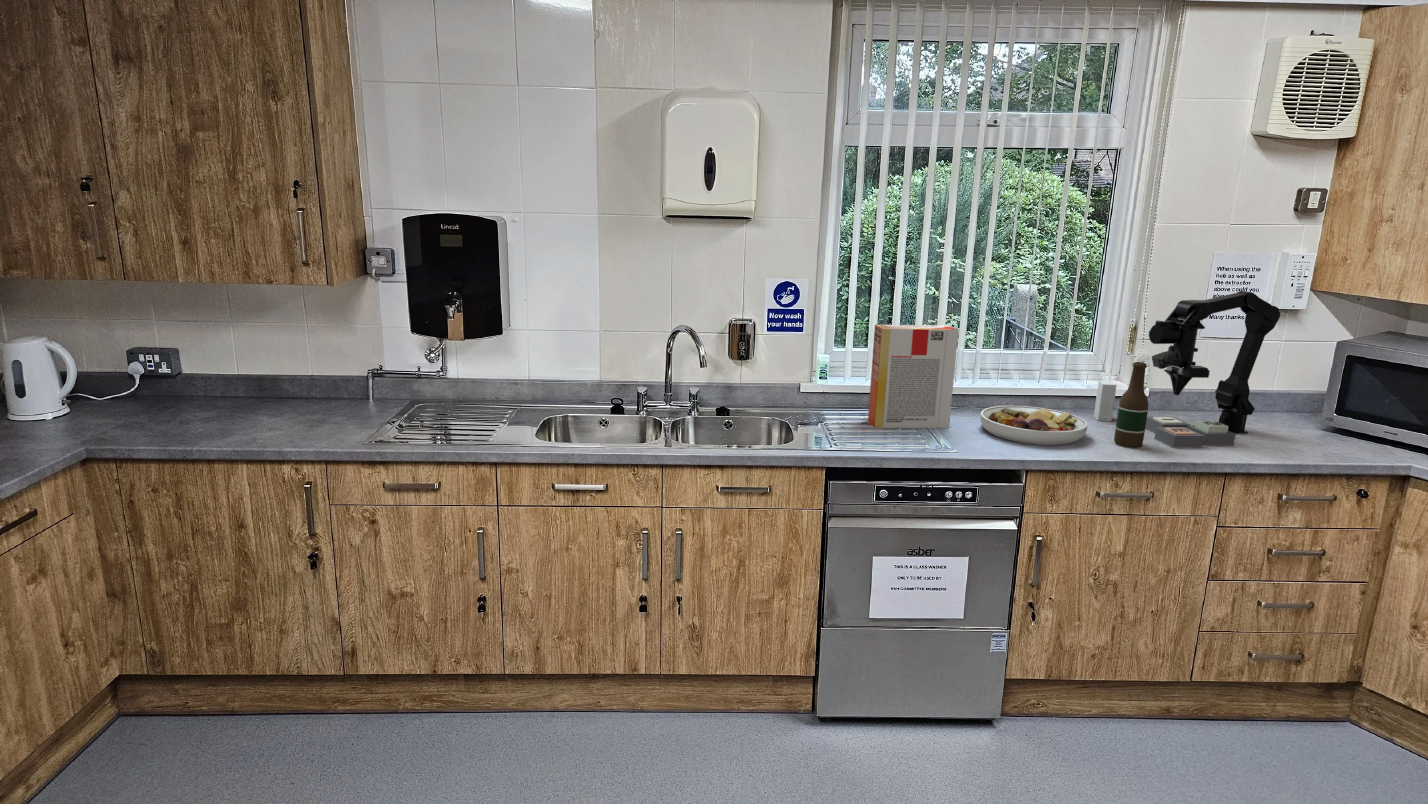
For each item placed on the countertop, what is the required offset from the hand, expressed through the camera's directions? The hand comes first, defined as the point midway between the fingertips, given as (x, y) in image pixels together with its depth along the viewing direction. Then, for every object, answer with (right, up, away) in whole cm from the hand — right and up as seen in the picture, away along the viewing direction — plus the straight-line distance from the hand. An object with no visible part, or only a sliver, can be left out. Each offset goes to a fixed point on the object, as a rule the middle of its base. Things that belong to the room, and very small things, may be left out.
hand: (1176, 394), depth 257 cm
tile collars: (+1, -13, -2) cm, 13 cm away
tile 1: (-1, -10, +3) cm, 10 cm away
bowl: (-44, -12, -1) cm, 46 cm away
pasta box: (-80, -9, +5) cm, 80 cm away
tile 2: (+7, -11, -6) cm, 14 cm away
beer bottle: (-20, -15, -11) cm, 27 cm away
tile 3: (-4, -13, -9) cm, 16 cm away
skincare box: (-14, -8, +17) cm, 24 cm away
